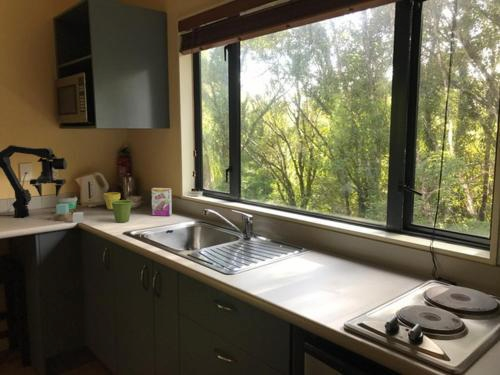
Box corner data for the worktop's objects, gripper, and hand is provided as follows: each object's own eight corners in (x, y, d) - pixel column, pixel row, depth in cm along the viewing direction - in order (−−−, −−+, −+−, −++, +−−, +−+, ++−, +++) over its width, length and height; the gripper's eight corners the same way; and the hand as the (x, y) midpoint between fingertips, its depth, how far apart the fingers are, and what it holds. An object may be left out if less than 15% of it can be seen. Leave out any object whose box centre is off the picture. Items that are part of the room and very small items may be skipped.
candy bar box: (151, 216, 253) (150, 188, 251) (154, 214, 258) (153, 187, 256) (169, 216, 252) (169, 189, 250) (172, 214, 257) (171, 188, 255)
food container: (63, 216, 250) (62, 199, 249) (57, 215, 254) (56, 198, 253) (82, 213, 260) (81, 197, 259) (76, 212, 264) (75, 196, 262)
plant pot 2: (125, 224, 230) (124, 204, 228) (106, 222, 234) (106, 202, 232) (137, 220, 241) (137, 200, 240) (119, 218, 245) (119, 199, 243)
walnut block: (53, 221, 238) (52, 214, 238) (60, 218, 245) (59, 211, 244) (64, 221, 237) (64, 214, 237) (71, 219, 244) (71, 212, 244)
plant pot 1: (104, 210, 270) (103, 195, 269) (104, 207, 280) (103, 192, 278) (121, 209, 273) (120, 194, 272) (120, 206, 283) (119, 192, 282)
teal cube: (56, 214, 238) (56, 205, 237) (59, 212, 243) (59, 203, 242) (65, 213, 238) (65, 205, 238) (68, 212, 243) (68, 203, 243)
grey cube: (73, 223, 233) (72, 214, 232) (74, 221, 237) (73, 212, 237) (82, 222, 234) (82, 213, 233) (83, 220, 239) (83, 212, 238)
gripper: (24, 170, 238) (25, 198, 240) (57, 171, 238) (59, 198, 240) (33, 169, 249) (35, 195, 251) (65, 169, 249) (67, 195, 252)
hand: (48, 196), depth 248 cm, fingers open, 9 cm apart
